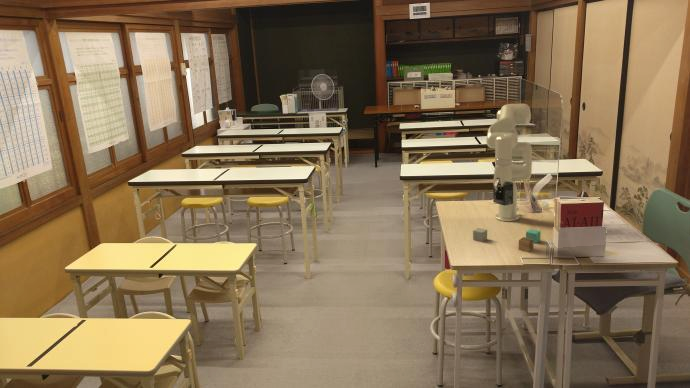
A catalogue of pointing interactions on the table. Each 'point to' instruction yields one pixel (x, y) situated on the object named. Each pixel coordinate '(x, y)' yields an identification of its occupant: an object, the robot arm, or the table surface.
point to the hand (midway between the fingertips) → (503, 197)
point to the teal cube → (533, 235)
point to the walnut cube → (526, 244)
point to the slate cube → (480, 234)
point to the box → (504, 194)
